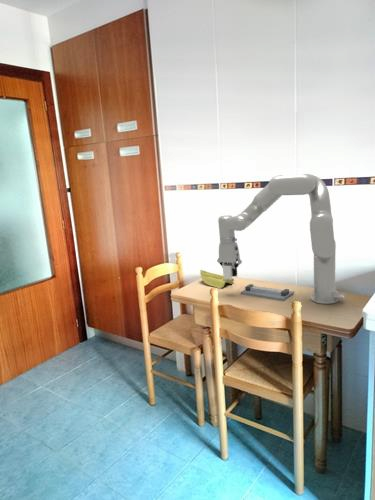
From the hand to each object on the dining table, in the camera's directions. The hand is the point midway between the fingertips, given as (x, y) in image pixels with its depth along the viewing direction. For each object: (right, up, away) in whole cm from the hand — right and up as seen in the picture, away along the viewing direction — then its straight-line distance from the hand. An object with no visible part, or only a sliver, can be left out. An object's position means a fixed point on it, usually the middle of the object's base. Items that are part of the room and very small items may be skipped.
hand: (230, 275), depth 199 cm
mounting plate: (+19, -10, 0) cm, 21 cm away
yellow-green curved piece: (-5, -7, +25) cm, 26 cm away
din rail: (+18, -9, -1) cm, 20 cm away
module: (0, -1, 0) cm, 1 cm away
